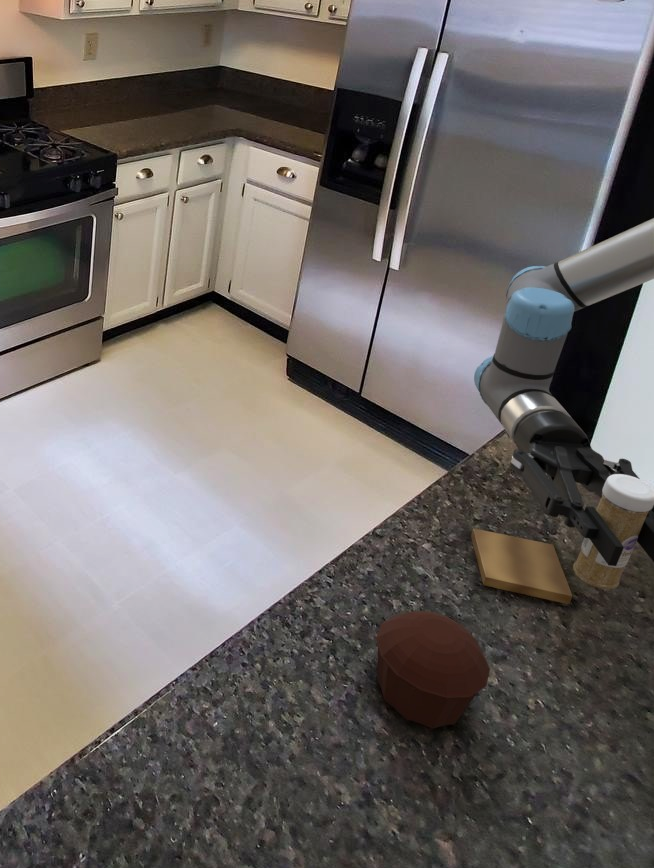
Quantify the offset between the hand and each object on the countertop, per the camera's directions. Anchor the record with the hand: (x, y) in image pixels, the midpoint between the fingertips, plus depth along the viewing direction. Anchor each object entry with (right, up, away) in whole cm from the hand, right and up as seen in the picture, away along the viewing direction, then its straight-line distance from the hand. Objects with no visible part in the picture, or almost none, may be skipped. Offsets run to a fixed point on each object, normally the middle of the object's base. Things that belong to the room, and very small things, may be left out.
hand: (642, 558), depth 86 cm
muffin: (-20, -18, +7) cm, 28 cm away
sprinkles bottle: (+1, -5, +8) cm, 10 cm away
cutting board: (+3, -10, +24) cm, 26 cm away
